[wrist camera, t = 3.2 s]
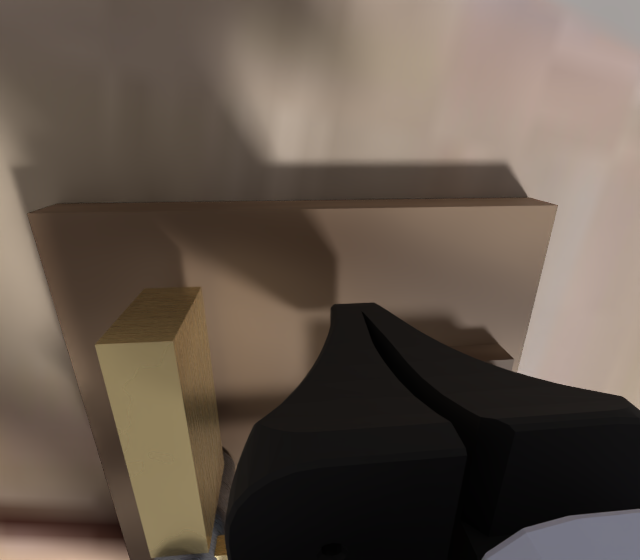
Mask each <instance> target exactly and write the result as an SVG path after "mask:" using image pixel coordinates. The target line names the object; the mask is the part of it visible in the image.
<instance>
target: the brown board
mask: <svg viewBox="0 0 640 560" xmlns="http://www.w3.org/2000/svg"><path fill="white" fill-rule="evenodd" d="M557 207H558V205H555V204H551V203H547V202H544V201H540V200H536V199H533V198H455V199H379V200H303V201H227V202H151V203H74V204H55V205H52V206H49V207H45V208H42V209H39V210H36V211H33V212H30V213H27V215H28V218H29V221H30V225H31V228H32V232H33V235H34V238H35V242H36V245H37V248H38V252H39V255H40V258H41V262H42V265H43V269H44V272H45V275H46V279H47V282H48V285H49V289H50V292H51V295H52V299H53V302H54V305H55V309H56V312H57V316H58V319H59V322H60V326H61V329H62V332H63V336H64V339H65V342H66V346H67V349H68V353H69V356H70V359H71V363H72V366H73V369H74V373H75V376H76V379H77V383H78V386H79V389H80V393H81V396H82V400H83V403H84V406H85V410H86V413H87V416H88V420H89V423H90V426H91V430H92V433H93V436H94V440H95V443H96V447H97V450H98V453H99V457H100V460H101V463H102V467H103V470H104V473H105V477H106V480H107V484H108V487H109V490H110V494H111V497H112V500H113V504H114V507H115V510H116V514H117V517H118V520H119V524H120V527H121V531H122V534H123V537H124V541H125V544H126V547H127V551H128V554H129V557H130V560H154V558H151V556H150V552H149V549H148V545H147V541H146V537H145V533H144V530H143V526H142V522H141V518H140V514H139V511H138V507H137V503H136V499H135V496H134V492H133V488H132V484H131V480H130V477H129V473H128V469H127V465H126V461H125V458H124V454H123V450H122V446H121V442H120V439H119V435H118V431H117V427H116V424H115V420H114V416H113V412H112V408H111V405H110V401H109V397H108V393H107V389H106V386H105V382H104V378H103V374H102V370H101V367H100V363H99V359H98V355H97V352H96V348H95V344H96V343H97V341H98V340H99V339H100V338H101V337H102V336H103V335H104V333H105V332H106V331H107V330H108V329H109V328H110V327H111V326H112V324H113V323H114V322H115V321H116V320H117V319H118V318H119V316H120V315H121V314H122V313H123V312H124V311H125V310H126V309H127V307H128V306H129V305H130V304H131V303H132V302H133V301H134V299H135V298H136V297H137V296H138V295H139V294H140V293H141V292H142V290H143V289H144V288H171V287H202V294H203V302H204V309H205V317H206V325H207V333H208V341H209V348H210V356H211V364H212V372H213V380H214V387H215V395H216V403H217V411H218V419H219V426H220V434H221V442H222V450H223V452H225V453H226V454H228V455H229V456H230V457H231V458H232V459H233V461H234V464H235V471H236V468H237V465H238V462H239V459H240V456H241V454H242V451H243V448H244V446H245V444H246V441H247V439H248V437H249V434H250V432H251V430H252V428H253V425H254V424H255V423H256V422H258V421H259V420H261V419H262V418H263V417H265V416H266V415H267V414H269V413H270V412H271V411H273V410H274V409H275V408H277V407H278V406H279V405H280V404H281V403H282V402H283V401H284V400H285V399H286V398H287V397H288V396H289V395H290V394H291V393H292V392H293V391H294V390H295V389H296V388H297V387H298V385H299V384H300V383H301V382H302V381H303V379H304V378H305V376H306V375H307V374H308V372H309V371H310V369H311V368H312V366H313V365H314V363H315V362H316V360H317V358H318V356H319V354H320V352H321V350H322V348H323V346H324V343H325V341H326V338H327V336H328V333H329V329H330V308H331V307H332V306H333V305H334V304H349V303H371V302H374V303H376V304H378V305H380V306H381V307H383V308H385V309H386V310H388V311H389V312H391V313H392V314H394V315H395V316H397V317H398V318H400V319H401V320H403V321H404V322H406V323H408V324H409V325H411V326H412V327H414V328H416V329H417V330H419V331H421V332H422V333H424V334H426V335H428V336H430V337H431V338H433V339H435V340H437V341H439V342H441V343H443V344H445V345H447V346H449V347H451V348H453V349H455V350H457V351H460V352H462V353H464V354H467V355H469V356H471V357H474V358H476V359H479V360H481V361H484V362H486V363H489V364H492V365H495V366H498V367H501V368H504V369H507V370H510V371H513V372H516V373H517V370H518V366H519V362H520V358H521V354H522V350H523V346H524V342H525V338H526V334H527V330H528V326H529V322H530V317H531V313H532V309H533V305H534V301H535V297H536V293H537V289H538V285H539V281H540V277H541V273H542V269H543V264H544V260H545V256H546V252H547V248H548V244H549V240H550V236H551V232H552V228H553V224H554V220H555V215H556V211H557ZM234 474H235V473H234Z"/></svg>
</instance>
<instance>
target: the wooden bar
mask: <svg viewBox="0 0 640 560" xmlns="http://www.w3.org/2000/svg"><path fill="white" fill-rule="evenodd" d="M95 348H96V352H97V355H98V359H99V363H100V367H101V370H102V374H103V378H104V382H105V386H106V389H107V393H108V397H109V401H110V405H111V408H112V412H113V416H114V420H115V424H116V427H117V431H118V435H119V439H120V442H121V446H122V450H123V454H124V458H125V461H126V465H127V469H128V473H129V477H130V480H131V484H132V488H133V492H134V496H135V499H136V503H137V507H138V511H139V514H140V518H141V522H142V526H143V530H144V533H145V537H146V541H147V545H148V549H149V552H150V556H151V558H154V560H228V558H227V551H226V545H225V520H226V513H227V507H228V500H229V493H230V489H231V485H232V481H233V478H234V473H235V464H234V461H233V459H232V458H231V457H230V456H229V455H228V454H226V453H225V452H223V450H222V442H221V434H220V426H219V419H218V411H217V403H216V395H215V387H214V380H213V372H212V364H211V356H210V348H209V341H208V333H207V325H206V317H205V309H204V302H203V294H202V287H171V288H144V289H143V290H142V292H141V293H140V294H139V295H138V296H137V297H136V298H135V299H134V301H133V302H132V303H131V304H130V305H129V306H128V307H127V309H126V310H125V311H124V312H123V313H122V314H121V315H120V316H119V318H118V319H117V320H116V321H115V322H114V323H113V324H112V326H111V327H110V328H109V329H108V330H107V331H106V332H105V333H104V335H103V336H102V337H101V338H100V339H99V340H98V341H97V343H96V344H95Z"/></svg>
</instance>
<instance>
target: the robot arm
mask: <svg viewBox="0 0 640 560" xmlns="http://www.w3.org/2000/svg"><path fill="white" fill-rule="evenodd" d="M225 545H226V551H227V558H228V560H640V410H639V409H638V408H636V407H635V406H634V405H633V404H631V403H630V402H629V401H628V400H626V399H625V398H624V397H622V396H617V395H612V394H607V393H602V392H597V391H591V390H586V389H581V388H576V387H571V386H566V385H561V384H557V383H553V382H549V381H545V380H542V379H538V378H534V377H530V376H527V375H523V374H520V373H516V372H513V371H510V370H507V369H504V368H501V367H498V366H495V365H492V364H489V363H486V362H484V361H481V360H479V359H476V358H474V357H471V356H469V355H467V354H464V353H462V352H460V351H457V350H455V349H453V348H451V347H449V346H447V345H445V344H443V343H441V342H439V341H437V340H435V339H433V338H431V337H430V336H428V335H426V334H424V333H422V332H421V331H419V330H417V329H416V328H414V327H412V326H411V325H409V324H408V323H406V322H404V321H403V320H401V319H400V318H398V317H397V316H395V315H394V314H392V313H391V312H389V311H388V310H386V309H385V308H383V307H381V306H380V305H378V304H376V303H374V302H371V303H349V304H334V305H333V306H332V307H331V308H330V329H329V333H328V336H327V338H326V341H325V343H324V346H323V348H322V350H321V352H320V354H319V356H318V358H317V360H316V362H315V363H314V365H313V366H312V368H311V369H310V371H309V372H308V374H307V375H306V376H305V378H304V379H303V381H302V382H301V383H300V384H299V385H298V387H297V388H296V389H295V390H294V391H293V392H292V393H291V394H290V395H289V396H288V397H287V398H286V399H285V400H284V401H283V402H282V403H281V404H280V405H279V406H278V407H277V408H275V409H274V410H273V411H271V412H270V413H269V414H267V415H266V416H265V417H263V418H262V419H261V420H259V421H258V422H256V423H255V424H254V425H253V428H252V430H251V432H250V434H249V437H248V439H247V441H246V444H245V446H244V448H243V451H242V454H241V456H240V459H239V462H238V465H237V468H236V471H235V474H234V478H233V481H232V485H231V489H230V493H229V500H228V507H227V513H226V520H225Z"/></svg>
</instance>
